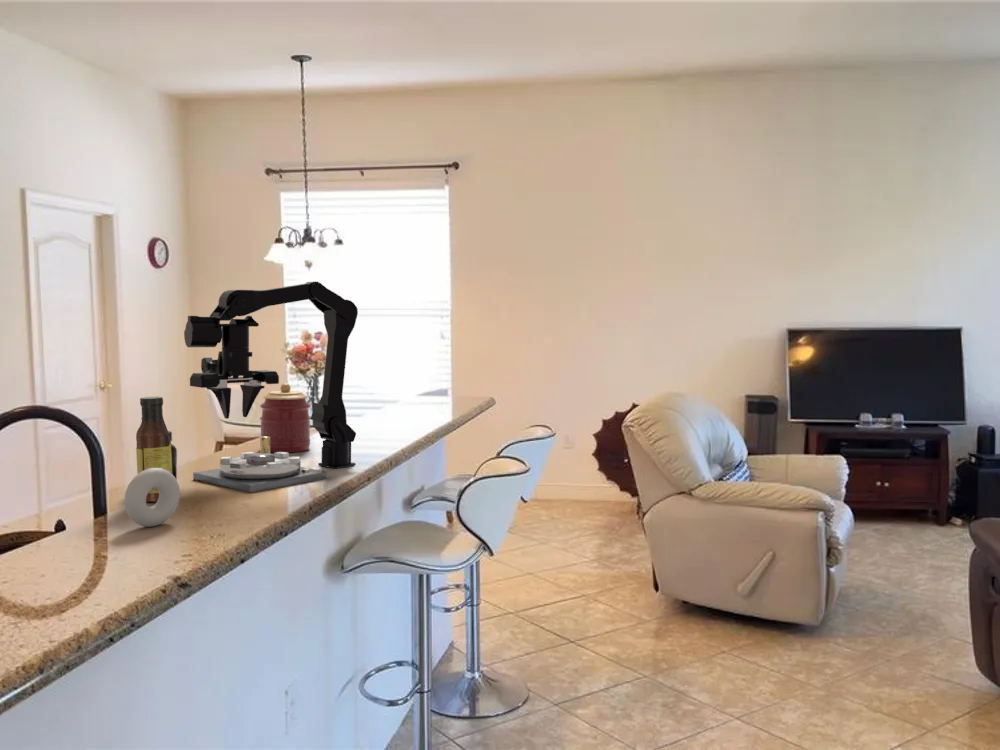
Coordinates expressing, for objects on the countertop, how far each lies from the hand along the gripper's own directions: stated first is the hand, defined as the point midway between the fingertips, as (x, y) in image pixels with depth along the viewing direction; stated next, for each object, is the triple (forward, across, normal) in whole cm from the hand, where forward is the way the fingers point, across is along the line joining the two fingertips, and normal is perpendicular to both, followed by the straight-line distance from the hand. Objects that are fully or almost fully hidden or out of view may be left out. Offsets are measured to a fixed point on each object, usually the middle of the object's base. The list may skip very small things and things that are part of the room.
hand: (235, 417), depth 186 cm
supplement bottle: (+13, +19, +4) cm, 24 cm away
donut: (+13, +33, +30) cm, 46 cm away
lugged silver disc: (+11, -2, +7) cm, 13 cm away
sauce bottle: (+13, +24, +11) cm, 29 cm away
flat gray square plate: (+13, -2, +7) cm, 15 cm away
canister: (+13, -28, -24) cm, 39 cm away
